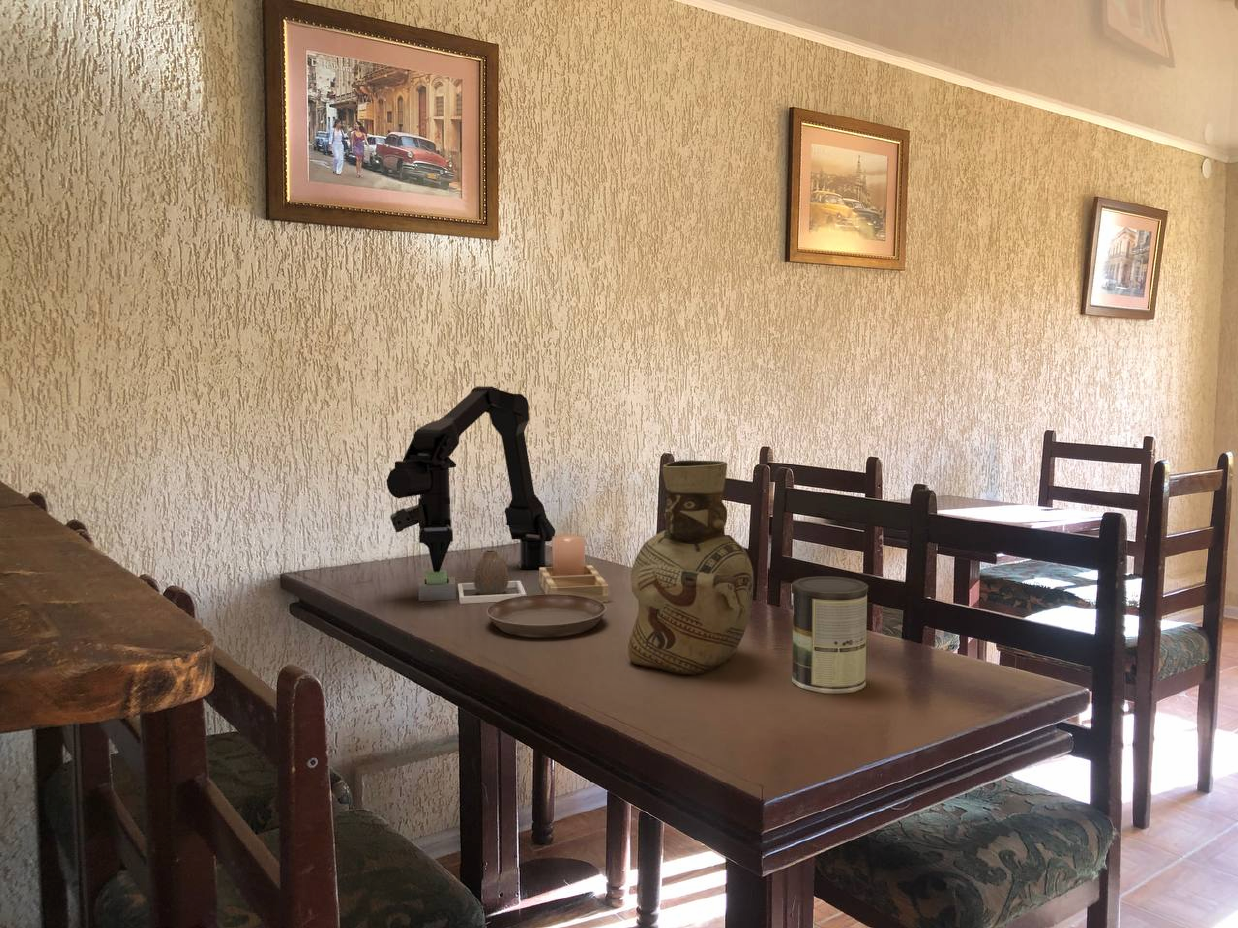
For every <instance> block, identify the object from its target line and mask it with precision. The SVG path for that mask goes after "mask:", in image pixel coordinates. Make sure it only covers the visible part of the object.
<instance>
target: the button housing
mask: <svg viewBox="0 0 1238 928" xmlns="http://www.w3.org/2000/svg"><path fill="white" fill-rule="evenodd" d="M417 581H418V583H417V585H418V587H417V588H418V592H417V593H418V595H417V596H418V602H427V601H429V602H430V601H433V602H434V601H447V600H449V601H451V600H453V601H454V600H456V597H457V596H456V593H457V592H456V579H455V576H447V583H440V584H426V577H419V578H418V580H417Z"/></svg>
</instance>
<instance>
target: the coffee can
mask: <svg viewBox="0 0 1238 928" xmlns="http://www.w3.org/2000/svg"><path fill="white" fill-rule="evenodd" d="M792 591H793V592H792V594H793V595H792V596H793V597H792V603H793V605H792V673H791V674H792V676H791V681H792V683H793V684H794V685H795V686H797V687H798V688H800V689H803V690H806V691H809V692H814V693H821V694H833V695H835V694H836V695H837V694H847V693H848V694H850V693H855V692H858V691H860V690H863V688H865V687H866V685H867V683H866V664H867V663H866V657H867V656H866V655H867V618H868V617H867V612H868V611H867V608H868V592H869V585H868V584H867V583H866V582H864V581H862V580H859V579H855V578H850V577H843V576H842V577H841V576H831V575H830V576H823V575H822V576H819V575H818V576H807V577H806V576H805V577H802V578H797V579H795V580H794V581H792Z"/></svg>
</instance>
